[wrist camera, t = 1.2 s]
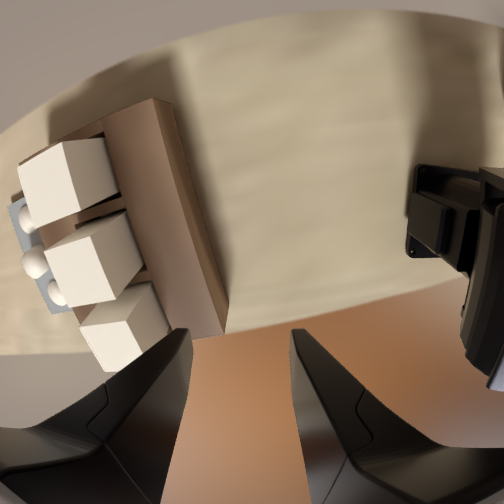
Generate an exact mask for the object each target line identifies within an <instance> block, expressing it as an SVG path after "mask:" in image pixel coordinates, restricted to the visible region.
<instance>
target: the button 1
mask: <svg viewBox="0 0 504 504" xmlns="http://www.w3.org/2000/svg"><path fill="white" fill-rule="evenodd" d="M17 170H18V174H19V178H20V182H21V185H22V189H23V192H24V196H25V199H26V202H27V206H28V209H29V212H30V215H31V218H32V221H33V224H34V227H35V229H36V228H39V227H41V226H43V225H46V224H48V223H51V222H53V221H56V220H58V219H61V218H63V217H66V216H68V215H71V214H73V213H76V212H79V211H81V210H83V209H85V208H87V207H89V206H91V205H93V204H95V203H97V202H99V201H101V200H103V199H105V198H107V197H109V196H111V195H113V194H116V193H118V192H120V188H119V185H118V181H117V178H116V175H115V171H114V168H113V164H112V160H111V157H110V153H109V149H108V146H107V142H106V138H93V139H83V140H73V141H65V142H60V143H59V144H57V145H55V146H53V147H51V148H49V149H48V150H46V151H44V152H42V153H41V154H39V155H37V156H35V157H34V158H32V159H30V160H29V161H27V162H25V163H24V164H22V165H21V166H19V167H17Z"/></svg>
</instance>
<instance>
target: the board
mask: <svg viewBox="0 0 504 504" xmlns="http://www.w3.org/2000/svg"><path fill="white" fill-rule="evenodd" d="M93 138H106V142H107V146H108V149H109V153H110V157H111V160H112V164H113V168H114V171H115V175H116V178H117V181H118V185H119V188H120V192H118V193H116V194H113V195H111V196H109V197H107V198H105V199H103V200H101V201H99V202H97V203H95V204H93V205H91V206H89V207H87V208H85V209H83V210H81V211H79V212H76V213H73V214H71V215H68V216H66V217H63V218H61V219H58V220H56V221H53V222H51V223H48V224H46V225H43V226H41V227H39V228H38V230H39V232H40V235H41V238H42V241H43V243H44V246H45V248H46V250H47V249H48V248H50V247H51V246H53V245H54V244H56V243H57V242H59V241H60V240H62V239H63V238H65V237H66V236H68V235H70V234H71V233H73V232H74V231H76V230H77V229H79V228H81V227H82V226H84V225H86V224H87V223H89V222H91V221H94V220H97V219H100V218H103V217H106V216H109V215H112V214H115V213H118V212H121V211H125V210H127V213H128V216H129V219H130V222H131V225H132V228H133V231H134V234H135V237H136V240H137V243H138V245H139V248H140V251H141V254H142V256H143V259H144V262H145V263H144V265H143V266H142V267H141V268H140V270H139V271H138V272H137V273H136V275H135V276H134V277H133V278H132V280H131V281H130V282H129V283H128V285H130V284H134V283H139V282H144V281H149V280H152V282H153V285H154V287H155V290H156V292H157V295H158V297H159V300H160V302H161V304H162V307H163V309H164V312H165V314H166V316H167V319H168V321H169V323H170V326H169V328H168V331H167V333H166V335H167V334H169V333H170V332H171V331H173V330H174V329H175V328H188V329H189V330H190V333H191V339H192V340H194V339H201V338H207V337H214V336H220V335H224V333H225V327H226V321H227V315H228V309H229V303H228V300H227V297H226V294H225V291H224V288H223V284H222V281H221V278H220V275H219V272H218V268H217V265H216V262H215V259H214V255H213V252H212V249H211V245H210V242H209V239H208V235H207V232H206V229H205V225H204V222H203V218H202V215H201V212H200V208H199V205H198V201H197V198H196V194H195V191H194V187H193V184H192V180H191V176H190V173H189V169H188V165H187V162H186V158H185V154H184V151H183V147H182V143H181V139H180V136H179V132H178V128H177V124H176V120H175V116H174V112H173V108H172V105H171V104H170V103H167V102H164V101H161V100H158V99H155V98H151V99H148V100H145V101H143V102H140V103H137V104H135V105H132V106H130V107H127V108H125V109H123V110H120V111H118V112H116V113H113V114H111V115H109V116H106V117H104V118H102V119H100V120H98V121H96V122H93V123H91V124H89V125H87V126H85V127H83V128H81V129H79V130H77V131H75V132H73V133H71V134H69V135H67V136H65V137H63V138H62V139H60V140H58V141H56V142H54V143H52V144H51V145H49V146H47V147H45V148H44V149H42V150H40V151H38V152H37V153H35V154H33V155H32V156H30V157H28V158H27V159H25V160H24V161H22V162H20V163H19V166H21V165H22V164H24V163H25V162H27V161H29V160H30V159H32V158H34V157H35V156H37V155H39V154H41V153H42V152H44V151H46V150H48V149H49V148H51V147H53V146H55V145H57V144H59V143H60V142H65V141H73V140H83V139H93ZM97 304H98V303H94V304H88V305H82V306H76V307H72V309H73V311H74V313H75V315H76V317H77V319H78V321H79V323H80V325H81V324H82V322H83V321H84V320H85V319H86V317H87V316H88V315H89V314H90V312H91V311H92V310H93V309H94V308H95V306H96V305H97ZM166 335H165V336H166Z"/></svg>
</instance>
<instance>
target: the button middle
mask: <svg viewBox="0 0 504 504" xmlns="http://www.w3.org/2000/svg"><path fill="white" fill-rule="evenodd" d="M44 254H45V256H46V259H47V261H48V264H49V266H50V268H51V271H52V273H53V275H54V278H55V280H56V282H57V284H58V286H59V289H60V291H61V293H62V295H63V297H64V299H65V301H66V303H67V305H68V307H69V308H71V307H76V306H82V305H88V304H94V303H99V302H105V301H110V300H116V299H117V297H118V296H119V295H120V294H121V292H122V291H123V290H124V288H125V287H126V286H127V285H128V283H129V282H130V281H131V280H132V278H133V277H134V276H135V275H136V273H137V272H138V271H139V270H140V268H141V267H142V266H143V265H144V263H145V262H144V259H143V256H142V254H141V251H140V248H139V245H138V243H137V240H136V237H135V234H134V231H133V228H132V225H131V222H130V219H129V216H128V213H127V210H125V211H121V212H118V213H115V214H112V215H109V216H106V217H103V218H100V219H97V220H94V221H91V222H89V223H87V224H86V225H84V226H82V227H81V228H79V229H77V230H76V231H74V232H73V233H71V234H70V235H68V236H66V237H65V238H63V239H62V240H60V241H59V242H57V243H56V244H54V245H53V246H51V247H50V248H48V249H47V250H45V251H44Z"/></svg>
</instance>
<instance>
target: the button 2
mask: <svg viewBox="0 0 504 504" xmlns="http://www.w3.org/2000/svg"><path fill="white" fill-rule="evenodd" d="M169 326H170V323H169V321H168V319H167V316H166V314H165V312H164V309H163V307H162V304H161V302H160V300H159V297H158V295H157V292H156V290H155V287H154V285H153V282H152V280H149V281H144V282H139V283H134V284H130V285H127V286H126V287H125V288H124V290H123V291H122V292H121V294H120V295H119V296H118V297H117V299H116V300H110V301H105V302H99V303H98V304H97V305H96V306H95V308H94V309H93V310H92V311H91V312H90V314H89V315H88V316H87V317H86V319H85V320H84V321H83V322H82V324H81V325H80V326H79V328H80V330H81V332H82V334H83V336H84V338H85V339H86V341H87V343H88V345H89V346H90V348H91V350H92V351H93V353H94V355H95V356H96V358H97V360H98V361H99V363H100V365H101V366H102V368H103V369H104V371H105V372H114V371H120V370H121V369H123V368H124V367H125V366H127V365H128V364H129V363H131V362H132V361H133V360H135V359H136V358H137V357H139V356H140V355H141V354H143V353H144V352H145V351H147V350H148V349H149V348H150V347H152V346H153V345H154V344H156V343H157V342H158V341H160V340H161V339H162V338H164V337H165V335H166V333H167V331H168V328H169Z"/></svg>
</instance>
